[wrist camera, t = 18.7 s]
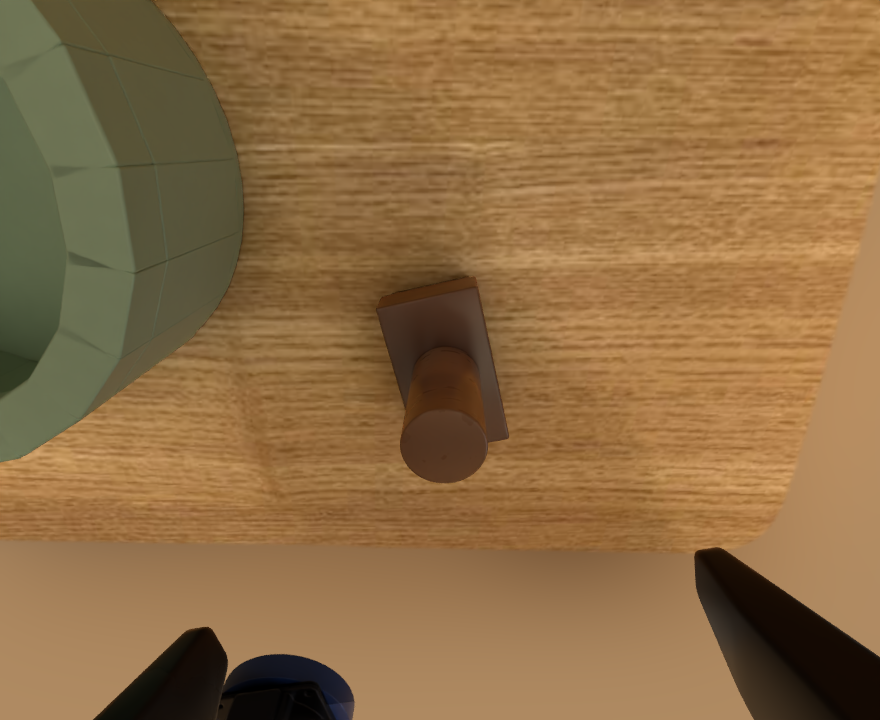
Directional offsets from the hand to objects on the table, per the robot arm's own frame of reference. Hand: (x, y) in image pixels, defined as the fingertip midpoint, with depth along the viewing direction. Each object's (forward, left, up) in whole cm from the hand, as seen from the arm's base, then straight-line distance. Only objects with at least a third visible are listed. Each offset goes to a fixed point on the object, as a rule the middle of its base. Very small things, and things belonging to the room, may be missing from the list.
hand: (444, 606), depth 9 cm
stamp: (0, 0, -12) cm, 12 cm away
